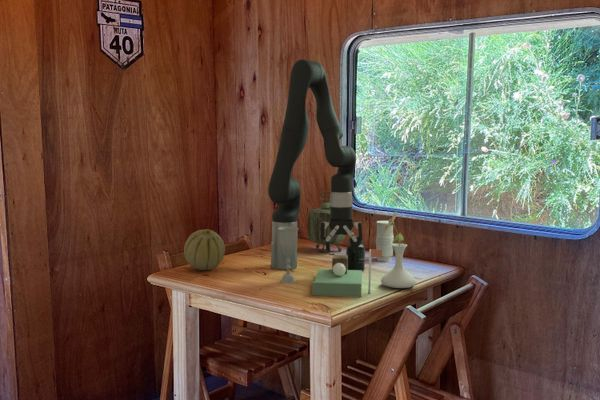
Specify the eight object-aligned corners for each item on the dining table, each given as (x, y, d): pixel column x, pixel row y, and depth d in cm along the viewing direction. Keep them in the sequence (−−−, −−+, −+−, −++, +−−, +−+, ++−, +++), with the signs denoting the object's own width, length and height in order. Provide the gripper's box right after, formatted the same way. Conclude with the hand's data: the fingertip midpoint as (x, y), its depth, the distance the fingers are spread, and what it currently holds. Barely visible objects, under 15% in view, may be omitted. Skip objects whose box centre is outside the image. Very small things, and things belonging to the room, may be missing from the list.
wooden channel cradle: (332, 273, 205) (332, 258, 205) (333, 269, 211) (333, 255, 211) (346, 273, 205) (347, 259, 204) (347, 269, 211) (347, 255, 210)
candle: (394, 261, 234) (395, 223, 232) (376, 261, 234) (377, 223, 233) (392, 257, 241) (393, 220, 239) (374, 257, 241) (375, 220, 239)
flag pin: (368, 293, 190) (369, 249, 188) (368, 293, 190) (369, 249, 189) (380, 293, 189) (382, 249, 188) (380, 293, 190) (381, 249, 188)
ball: (332, 277, 200) (332, 264, 199) (332, 274, 204) (333, 261, 204) (345, 277, 199) (345, 264, 199) (345, 274, 204) (346, 261, 203)
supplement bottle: (363, 272, 217) (364, 239, 216) (344, 271, 219) (345, 238, 217) (365, 268, 224) (366, 235, 222) (347, 266, 225) (347, 235, 224)
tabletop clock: (345, 251, 253) (346, 191, 250) (335, 255, 246) (336, 193, 242) (316, 247, 261) (316, 189, 258) (304, 250, 253) (305, 191, 250)
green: (312, 295, 188) (312, 282, 187) (318, 275, 212) (318, 264, 211) (361, 296, 186) (361, 284, 185) (361, 277, 210) (362, 265, 210)
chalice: (290, 285, 199) (291, 230, 197) (273, 282, 203) (273, 228, 200) (302, 280, 205) (303, 227, 203) (285, 277, 209) (286, 225, 207)
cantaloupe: (202, 263, 229) (201, 224, 227) (233, 268, 222) (233, 227, 220) (175, 271, 217) (174, 229, 215) (207, 276, 209) (206, 233, 207)
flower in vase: (392, 280, 207) (394, 207, 204) (422, 285, 199) (424, 210, 196) (371, 287, 197) (373, 211, 194) (402, 294, 189) (404, 214, 186)
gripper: (319, 206, 203) (319, 254, 205) (362, 206, 201) (362, 254, 203) (321, 203, 210) (321, 249, 212) (362, 203, 209) (362, 250, 211)
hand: (341, 252), depth 208 cm, fingers open, 8 cm apart
